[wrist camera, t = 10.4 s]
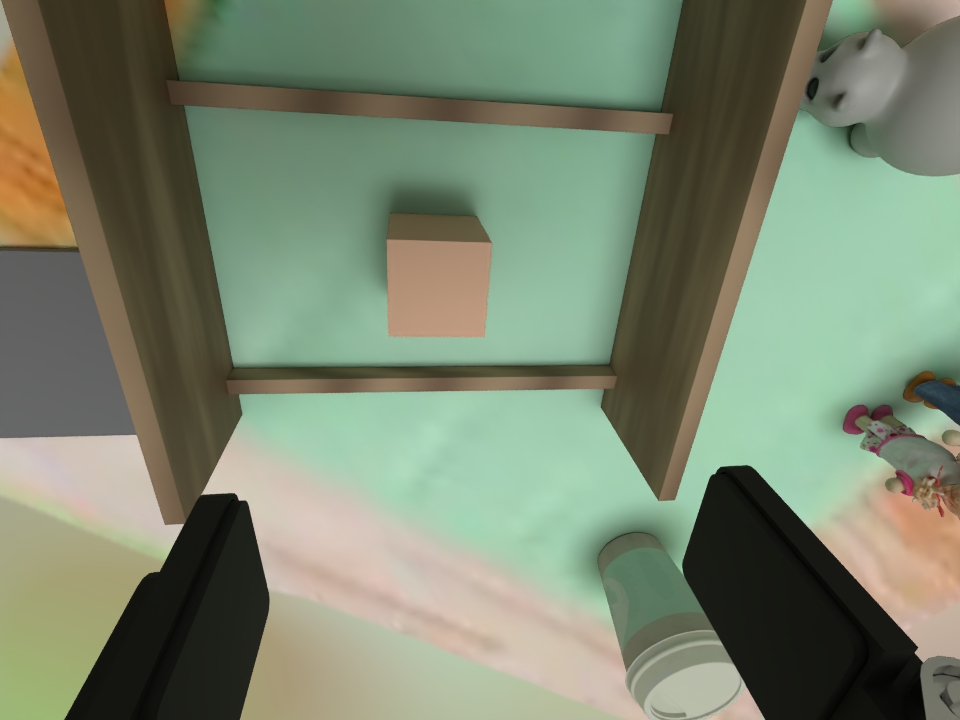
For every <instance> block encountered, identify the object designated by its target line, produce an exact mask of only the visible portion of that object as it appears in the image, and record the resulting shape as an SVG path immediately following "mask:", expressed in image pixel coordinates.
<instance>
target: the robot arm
mask: <svg viewBox="0 0 960 720" xmlns="http://www.w3.org/2000/svg"><path fill="white" fill-rule="evenodd" d="M682 568H683V574H684V577H685V579H686V581H687V583H688V585H689V586H690V588H691V590H692V592H693V593H694V595H695V597H696V599H697V600H698V602H699V604H700V606H701V608H702V609H703V611H704V613H705V615H706V616H707V618H708V620H709V622H710V623H711V625H712V627H713V629H714V630H715V632H716V634H717V636H718V637H719V639H720V641H721V643H722V644H723V646H724V648H725V650H726V651H727V653H728V655H729V657H730V659H731V660H732V662H733V664H734V666H735V667H736V669H737V671H738V673H739V674H740V676H741V678H742V680H743V681H744V683H745V685H746V687H747V688H748V690H749V692H750V694H751V695H752V697H753V699H754V701H755V702H756V704H757V706H758V708H759V710H760V711H761V713H762V715H763V717H764V718H765V720H960V660H959V659H956V658H952V657H944V656H936V657H932V658H928V659H927V660H926V661H925V662H924V663H923V662H922V661H921V660H920V659H919V657H918V656H917V655H916V654H915V651H916V650H917V648H918V647H917V646H916V644H915V643H914V642H913V641H912V640H911V639H910V638H909V637H908V636H907V635H906V634H905V632H904V631H903V630H902V629H901V628H900V627H899V626H898V625H897V624H896V623H895V622H894V621H893V619H892V618H891V617H890V616H889V615H888V614H887V613H886V612H885V611H884V610H883V609H882V607H881V606H880V605H879V604H878V603H877V602H876V601H875V600H874V599H873V598H872V597H871V595H870V594H869V593H868V592H867V591H866V590H865V589H864V588H863V587H862V586H861V585H860V583H859V582H858V581H857V580H856V579H855V578H854V577H853V576H852V575H851V574H850V573H849V571H848V570H847V569H846V568H845V567H844V566H843V565H842V564H841V563H840V562H839V561H838V560H837V558H836V557H835V556H834V555H833V554H832V553H831V552H830V551H829V550H828V549H827V548H826V546H825V545H824V544H823V543H822V542H821V541H820V540H819V539H818V538H817V537H816V536H815V534H814V533H813V532H812V531H811V530H810V529H809V528H808V527H807V526H806V525H805V524H804V522H803V521H802V520H801V519H800V518H799V517H798V516H797V515H796V514H795V513H794V512H793V510H792V509H791V508H790V507H789V506H788V505H787V504H786V503H785V502H784V501H783V500H782V499H781V497H780V496H779V495H778V494H777V493H776V492H775V491H774V490H773V489H772V488H771V487H770V485H769V484H768V483H767V482H766V481H765V480H764V479H763V478H762V477H761V476H760V475H759V473H758V472H757V471H756V470H755V469H753V468H752V467H751V466H748V465H744V466H726V467H720V468H719V469H718V470H717V472H716V474H713V475H712V476H711V477H710V479H709V482H708V485H707V488H706V491H705V494H704V497H703V500H702V503H701V506H700V509H699V513H698V516H697V519H696V522H695V525H694V528H693V531H692V534H691V537H690V540H689V543H688V547H687V550H686V553H685V556H684V559H683V563H682ZM268 612H269V592H268V588H267V583H266V579H265V575H264V570H263V566H262V562H261V557H260V553H259V549H258V544H257V540H256V536H255V531H254V527H253V523H252V518H251V514H250V510H249V506H248V503H247V501H239V500H238V497H237V495H236V494H235V493H228V494H209V495H201V496H200V497H199V498H198V499H197V501H196V503H195V505H194V507H193V509H192V511H191V512H190V514H189V516H188V518H187V520H186V522H185V524H184V526H183V528H182V530H181V532H180V534H179V536H178V538H177V539H176V541H175V543H174V545H173V547H172V549H171V551H170V553H169V555H168V557H167V559H166V561H165V563H164V565H163V566H162V568H161V570H160V572H153V573H149V574H148V575H147V576H145V577H144V578H143V579H142V581H141V582H140V584H139V585H138V586H137V588H136V590H135V592H134V594H133V595H132V597H131V599H130V601H129V603H128V605H127V606H126V608H125V610H124V612H123V614H122V616H121V617H120V619H119V621H118V623H117V625H116V626H115V628H114V630H113V632H112V634H111V636H110V637H109V639H108V641H107V643H106V645H105V647H104V649H103V650H102V652H101V654H100V656H99V658H98V659H97V661H96V663H95V665H94V667H93V668H92V670H91V672H90V674H89V676H88V678H87V680H86V681H85V683H84V685H83V687H82V688H81V690H80V692H79V694H78V696H77V698H76V700H75V701H74V703H73V705H72V707H71V709H70V710H69V712H68V714H67V716H66V718H65V719H64V720H240V717H241V713H242V709H243V706H244V702H245V698H246V695H247V691H248V687H249V683H250V680H251V676H252V672H253V668H254V665H255V661H256V657H257V653H258V650H259V646H260V642H261V638H262V635H263V631H264V627H265V623H266V620H267V616H268Z"/></svg>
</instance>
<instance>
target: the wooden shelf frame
mask: <svg viewBox="0 0 960 720" xmlns="http://www.w3.org/2000/svg"><path fill="white" fill-rule="evenodd" d="M1 1H2V4H3V8H4V11H5V14H6V17H7V20H8V23H9V27H10V30H11V33H12V36H13V40H14V43H15V46H16V49H17V52H18V56H19V59H20V62H21V65H22V68H23V72H24V75H25V78H26V81H27V84H28V88H29V91H30V94H31V97H32V100H33V104H34V107H35V110H36V113H37V116H38V120H39V123H40V126H41V129H42V133H43V136H44V139H45V142H46V145H47V149H48V152H49V155H50V158H51V161H52V165H53V168H54V171H55V174H56V177H57V181H58V184H59V187H60V190H61V193H62V197H63V200H64V203H65V206H66V209H67V213H68V216H69V219H70V222H71V225H72V229H73V232H74V235H75V238H76V241H77V245H78V248H79V251H80V254H81V257H82V261H83V264H84V267H85V270H86V274H87V277H88V280H89V283H90V286H91V290H92V293H93V296H94V299H95V302H96V306H97V309H98V312H99V315H100V318H101V322H102V325H103V328H104V331H105V334H106V338H107V341H108V344H109V347H110V350H111V354H112V357H113V360H114V363H115V366H116V370H117V373H118V376H119V379H120V382H121V386H122V389H123V392H124V395H125V398H126V402H127V405H128V408H129V411H130V415H131V418H132V421H133V424H134V427H135V431H136V434H137V437H138V440H139V443H140V447H141V450H142V453H143V456H144V459H145V463H146V466H147V469H148V472H149V475H150V479H151V482H152V485H153V488H154V491H155V495H156V498H157V501H158V504H159V507H160V511H161V514H162V517H163V520H164V523H165V525H170V524H185V522H186V520H187V518H188V516H189V514H190V512H191V511H192V509H193V507H194V505H195V503H196V501H197V499H198V498H199V497H200V496H201V494H202V492H203V490H204V488H205V487H206V485H207V483H208V481H209V479H210V477H211V475H212V473H213V471H214V469H215V467H216V465H217V463H218V461H219V459H220V457H221V455H222V453H223V451H224V449H225V447H226V445H227V443H228V441H229V439H230V437H231V436H232V434H233V432H234V430H235V428H236V426H237V424H238V422H239V420H240V418H241V416H242V411H241V406H240V400H239V395H238V394H286V393H353V392H420V391H488V390H555V389H604V394H603V399H602V404H601V408H602V410H603V412H604V413H605V415H606V416H607V418H608V420H609V421H610V423H611V425H612V426H613V428H614V429H615V431H616V433H617V434H618V436H619V438H620V439H621V441H622V442H623V444H624V446H625V447H626V449H627V451H628V452H629V454H630V455H631V457H632V459H633V460H634V462H635V464H636V465H637V467H638V468H639V470H640V472H641V473H642V475H643V477H644V478H645V480H646V481H647V483H648V485H649V486H650V488H651V490H652V491H653V493H654V494H655V496H656V498H657V499H658V501H667V500H675V498H676V495H677V492H678V489H679V486H680V482H681V479H682V476H683V473H684V470H685V467H686V463H687V460H688V457H689V454H690V451H691V448H692V444H693V441H694V438H695V435H696V432H697V429H698V425H699V422H700V419H701V416H702V413H703V410H704V406H705V403H706V400H707V397H708V394H709V391H710V387H711V384H712V381H713V378H714V375H715V372H716V369H717V365H718V362H719V359H720V356H721V353H722V350H723V346H724V343H725V340H726V337H727V334H728V331H729V327H730V324H731V321H732V318H733V315H734V312H735V308H736V305H737V302H738V299H739V296H740V293H741V289H742V286H743V283H744V280H745V277H746V274H747V270H748V267H749V264H750V261H751V258H752V255H753V251H754V248H755V245H756V242H757V239H758V236H759V232H760V229H761V226H762V223H763V220H764V217H765V213H766V210H767V207H768V204H769V201H770V198H771V194H772V191H773V188H774V185H775V182H776V179H777V175H778V172H779V169H780V166H781V163H782V160H783V156H784V153H785V150H786V147H787V144H788V141H789V137H790V134H791V131H792V128H793V125H794V122H795V118H796V115H797V112H798V109H799V106H800V103H801V99H802V96H803V93H804V90H805V87H806V84H807V80H808V77H809V74H810V71H811V68H812V65H813V61H814V58H815V55H816V52H817V49H818V46H819V42H820V39H821V36H822V33H823V30H824V27H825V23H826V20H827V17H828V14H829V11H830V8H831V5H832V1H833V0H684V1H683V5H682V10H681V15H680V20H679V25H678V30H677V35H676V40H675V45H674V50H673V55H672V60H671V65H670V69H669V74H668V79H667V84H666V89H665V94H664V99H663V104H662V109H661V113H654V112H639V111H624V110H609V109H594V108H579V107H564V106H549V105H534V104H519V103H504V102H489V101H474V100H459V99H444V98H429V97H414V96H399V95H384V94H369V93H354V92H339V91H324V90H309V89H294V88H279V87H264V86H249V85H234V84H219V83H204V82H189V81H179V78H178V73H177V67H176V62H175V57H174V52H173V46H172V41H171V36H170V30H169V25H168V20H167V15H166V9H165V4H164V0H1ZM184 105H188V106H205V107H221V108H238V109H255V110H271V111H288V112H304V113H321V114H337V115H354V116H370V117H387V118H403V119H420V120H436V121H453V122H469V123H486V124H503V125H519V126H536V127H552V128H569V129H585V130H602V131H618V132H635V133H651V134H656V138H655V143H654V148H653V153H652V158H651V163H650V168H649V173H648V178H647V183H646V188H645V192H644V197H643V202H642V207H641V212H640V217H639V222H638V227H637V232H636V237H635V242H634V247H633V252H632V256H631V261H630V266H629V271H628V276H627V281H626V286H625V291H624V296H623V301H622V306H621V311H620V316H619V320H618V325H617V330H616V335H615V340H614V345H613V350H612V355H611V360H610V365H602V366H478V367H354V368H233V363H232V358H231V353H230V347H229V342H228V337H227V332H226V326H225V321H224V316H223V310H222V305H221V300H220V295H219V289H218V284H217V279H216V273H215V268H214V263H213V258H212V252H211V247H210V242H209V236H208V231H207V226H206V221H205V215H204V210H203V205H202V199H201V194H200V189H199V184H198V178H197V173H196V168H195V163H194V157H193V152H192V147H191V141H190V136H189V131H188V126H187V120H186V115H185V110H184Z"/></svg>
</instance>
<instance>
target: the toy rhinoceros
mask: <svg viewBox="0 0 960 720" xmlns="http://www.w3.org/2000/svg"><path fill="white" fill-rule="evenodd" d="M799 109H802V110H805V111H807V112H808V113H810V114H811V115H812V116H813V117H814V118H815V119H817V120H818V121H819V122H821V123H822V124H825V125H828V126H833V127H843V126H849V125H852V124H856V123H857V124H856V125H855V126H854V128H853V130H852V132H851V145H852V147H853V149H854V150H855V151H856V152H857V153H858V154H859V155H861V156H863V157H869V158H874V157H881V158H882V159H883V160H884V161H885V162H886V163H888V164H889V165H891V166H893V167H895V168H897V169H899V170H901V171H904V172H907V173H911V174H915V175H921V176H948V175H955V174H960V16H957V17H954V18H952V19H949V20H947V21H944V22H942V23H940V24H938V25H936V26H934V27H932V28H930V29H929V30H927V31H925V32H924V33H922V34H921V35H919V36H918V37H916V38H915V39H914V40H913V41H911V42H910V43H909V44H907V45H905V46H903V47H901V48H900V47H899V46H898V45H897V43H896V42H895V41H894V40H893V39H891V38H890V37H888V36H886V35H883V34H881V31H880V30H879V29H878V28H875V29H873V30H872V31H870V32H860V33H855V34H852V35H849V36H847V37H845V38H843V39H842V40H840V41H839V42H838V43H836V44H835V45H833V46H832V47H830V48H828V49H826V50H823V51H817V52H816V55H815V58H814V61H813V65H812V68H811V71H810V74H809V77H808V80H807V84H806V87H805V90H804V93H803V96H802V99H801V103H800V106H799Z"/></svg>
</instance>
